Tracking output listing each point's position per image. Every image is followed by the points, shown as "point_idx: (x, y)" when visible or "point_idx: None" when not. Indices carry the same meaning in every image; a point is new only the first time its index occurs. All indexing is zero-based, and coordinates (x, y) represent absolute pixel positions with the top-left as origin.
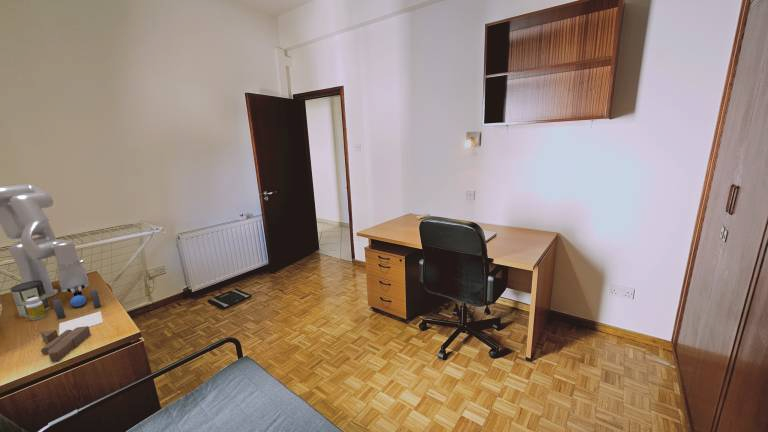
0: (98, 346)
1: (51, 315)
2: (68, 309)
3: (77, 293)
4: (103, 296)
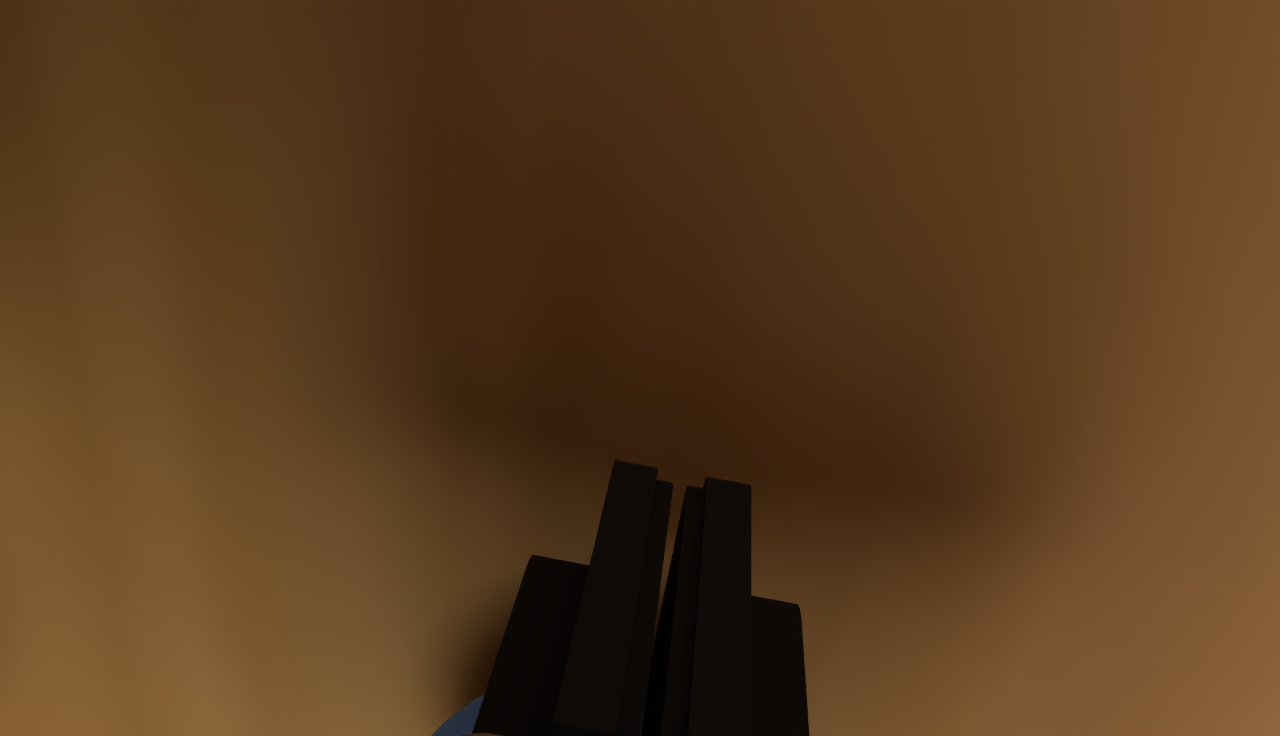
0: None
1: (55, 692)
2: (368, 691)
3: (647, 663)
4: (1264, 640)
